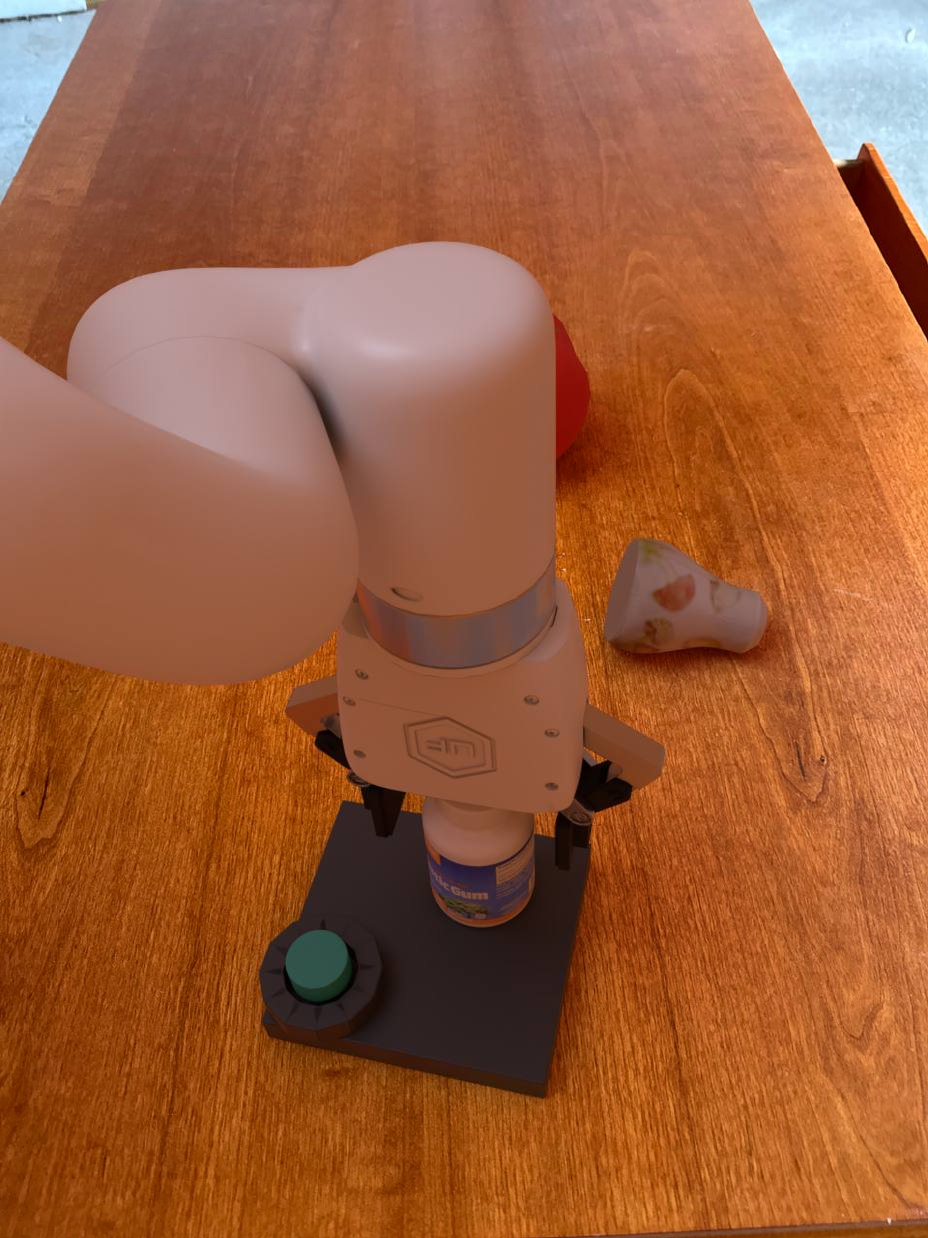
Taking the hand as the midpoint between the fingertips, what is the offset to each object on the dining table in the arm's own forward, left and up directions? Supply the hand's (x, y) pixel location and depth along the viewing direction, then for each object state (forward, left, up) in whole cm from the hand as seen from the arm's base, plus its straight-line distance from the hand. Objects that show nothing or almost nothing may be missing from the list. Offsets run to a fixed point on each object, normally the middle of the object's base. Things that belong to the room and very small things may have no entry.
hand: (479, 827), depth 55 cm
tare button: (-6, -7, -4) cm, 10 cm away
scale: (-2, -3, -7) cm, 8 cm away
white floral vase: (+8, +21, -8) cm, 24 cm away
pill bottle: (0, 0, -6) cm, 6 cm away
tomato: (-8, +37, -8) cm, 39 cm away
